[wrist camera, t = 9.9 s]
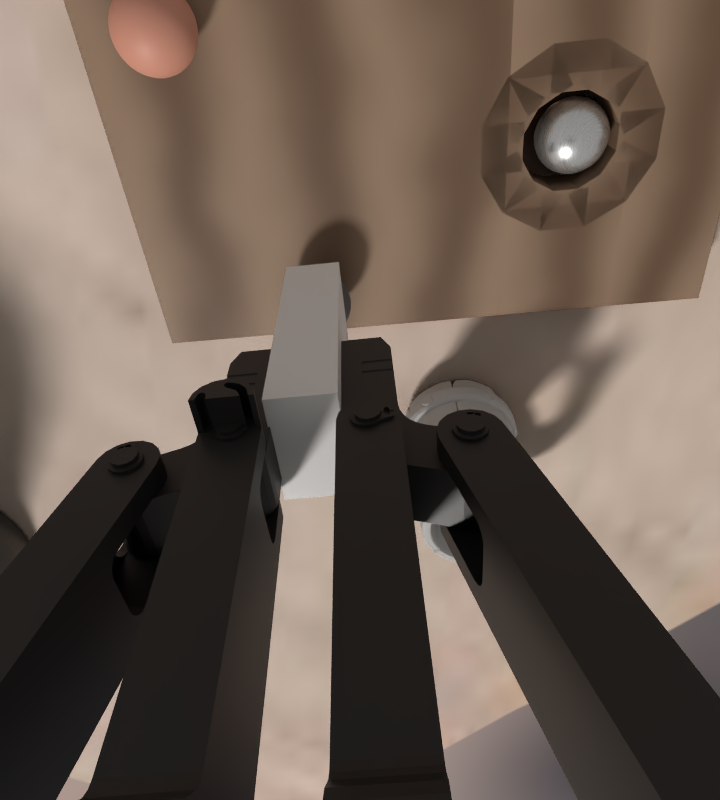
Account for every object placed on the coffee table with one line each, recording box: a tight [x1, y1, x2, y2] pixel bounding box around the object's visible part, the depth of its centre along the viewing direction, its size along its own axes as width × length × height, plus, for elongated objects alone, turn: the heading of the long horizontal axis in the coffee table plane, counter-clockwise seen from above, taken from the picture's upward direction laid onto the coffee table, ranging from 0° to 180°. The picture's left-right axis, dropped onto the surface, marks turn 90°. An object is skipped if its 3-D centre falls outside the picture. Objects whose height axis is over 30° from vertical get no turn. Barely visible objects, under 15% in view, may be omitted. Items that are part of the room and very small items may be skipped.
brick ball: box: [108, 0, 198, 78], centre depth 25 cm, size 4×4×4 cm
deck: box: [64, 0, 720, 343], centre depth 31 cm, size 30×18×2 cm, turn 95°
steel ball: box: [534, 96, 610, 174], centre depth 30 cm, size 4×4×4 cm
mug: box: [406, 380, 518, 562], centre depth 38 cm, size 8×12×12 cm, turn 43°
